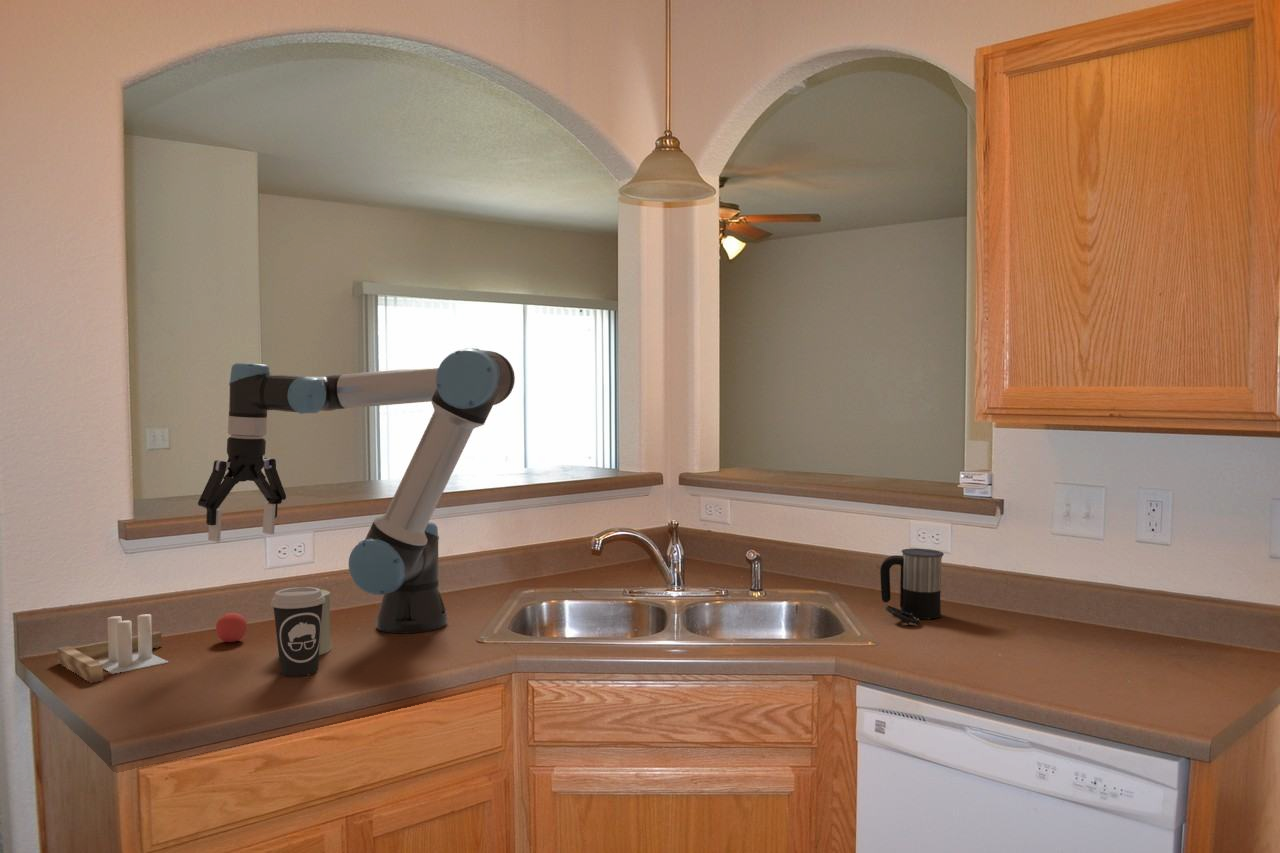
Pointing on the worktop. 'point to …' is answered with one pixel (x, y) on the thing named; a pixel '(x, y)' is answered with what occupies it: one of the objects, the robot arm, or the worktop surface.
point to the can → (325, 625)
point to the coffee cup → (298, 629)
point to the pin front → (144, 637)
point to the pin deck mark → (137, 664)
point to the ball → (231, 627)
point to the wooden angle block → (94, 657)
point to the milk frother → (914, 584)
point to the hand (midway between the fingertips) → (242, 537)
